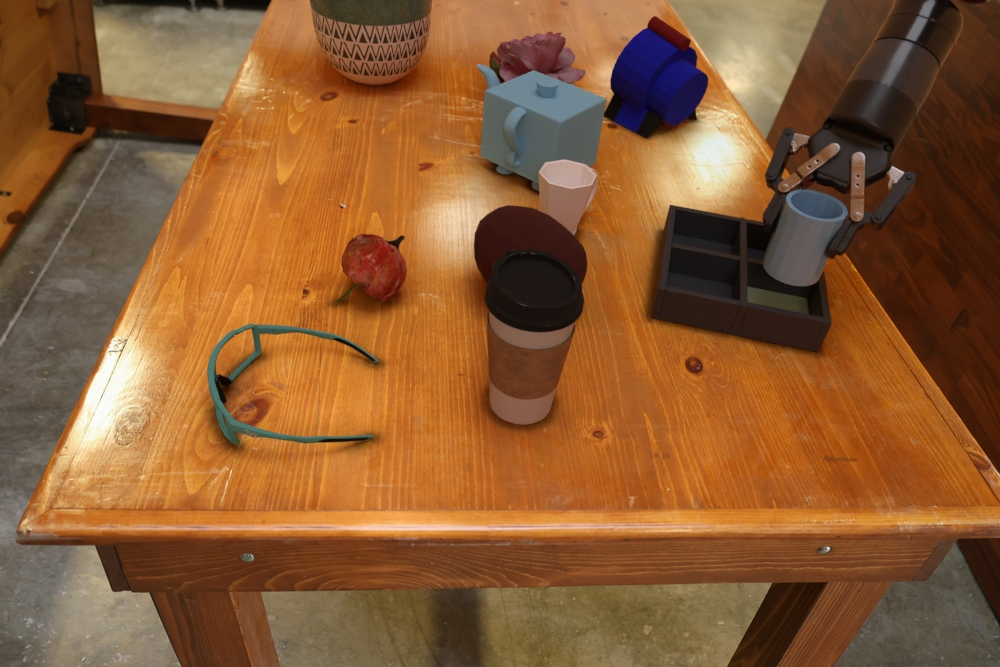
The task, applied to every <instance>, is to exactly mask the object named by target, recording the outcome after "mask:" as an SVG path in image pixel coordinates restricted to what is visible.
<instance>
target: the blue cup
mask: <svg viewBox="0 0 1000 667" xmlns="http://www.w3.org/2000/svg"><path fill="white" fill-rule="evenodd" d="M848 215H849V213H848V207H847V205H845V203H844V202H842V201H841V200H840V199H838V198H837V197H835V196H833V195H831V194H829V193H826V192H823V191H820V190H815V189H809V188H807V189H799V190H795V191H792V192H790V193H789V194H788V195H787V196H786V198H785V201H784V203H783V206H782V209H781V212H780V214H779V217H778V220H777V223H776V225H775V228H774V231H773V233H772V236H771V239H770V242H769V244H768V247H767V250H766V252H765V255H764V259H763V267H764V269H765V271H766V272H767V273H768V274H769V275H770V276H772V277H773V278H775V279H776V280H778V281H780V282H783V283H786V284H789V285H793V286H810V285H813V284H815V283H816V282H817V281H818V280H819V278H820V276H821V274H822V273H823V270H824V271H825V268H826V266H827V263H828V261H829V259H830V258H828V257H826V252H827V250H828V248H829V246H830V244H831V243H832V241H833V239H834V237H835V236H836V234H837V232H838V230H839V229H840V227H841V226H842V224H843V222H844V220H845V219H846V220H847V217H848Z"/></svg>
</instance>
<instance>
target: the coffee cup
mask: <svg viewBox="0 0 1000 667" xmlns="http://www.w3.org/2000/svg"><path fill="white" fill-rule="evenodd" d="M584 297H585V296H584V293H583V283H581V279H580V277H579V275H578V274H577V273H576V271H575V270H574V269H573V268H572V267H571V266H570V265H569V264H567V263H566V262H564V261H563V260H562V259H560V258H558V257H556V256H554V255H552V254H550V253H548V252H544V251H541V250H535V249H520V250H513V251H508V252H506V253H504V254H503V255H502V256H500V257H499V258H498V259H497V260H496V262H495V263H494V265H493V267H492V271H491V275H490V279H489V281H488V282H487V283H486V286H485V292H484V303H485V306H486V308H487V310H488V311H487V314H486V334H487V362H488V363H487V364H488V365H487V366H488V381H489V382H488V386H489V387H488V388H489V389H488V391H489V392H488V399H489V400H488V401H489V405H490V409H491V410H492V412H493V413H494V414H495V415H496V416H497V417H498V418H500V419H501V420H502V421H505V422H507V423H510V424H513V425H514V424H515V425H519V426H520V425H522V426H524V425H532V424H536V423H538V422H541V421H542V420H544V419H545V418H546V417H547V416H548V414H549V413H550V411H551V409H552V405H553V401H554V398H555V395H556V392H557V387H558V385H559V382H560V379H561V376H562V372H563V369H564V366H565V363H566V360H567V356H568V353H569V350H570V348H571V344H572V340H573V338H574V335H575V331H576V322H577V321H578V320H579V318H580V317H581V315H582V313H583V311H584V310H583V309H584V304H585V298H584Z"/></svg>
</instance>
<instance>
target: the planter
mask: <svg viewBox="0 0 1000 667" xmlns="http://www.w3.org/2000/svg"><path fill="white" fill-rule="evenodd" d="M309 5H310V12H311V18H312V24H313V25H312V26H313V30H314V34H315V37H316V40H317V43H318V45H319V48H320V50H321V52H322V55H323V57H324V58H325V59H326V60H327V61H328V63H329V65H330V66H331V67H333V69H335V71H337V72H338V73H340V74H341V75H342V76H344V77H345V78H346V79H349V80H350V81H353V82H355V83H358V84H362V85H368V86H382V85H388V84H392V83H395V82H398V81H399V80H401V79H403V78H404V77H406V76H407V75H408V74H409V73H411V72H412V71H413V69H415V68H416V66H417V65H418V64H419V63H420V61H421V59H422V57H423V56H424V53H425V51H426V47H427V45H428V40H429V36H430V32H431V23H432V22H431V21H432V11H433V9H432V8H433V0H309Z"/></svg>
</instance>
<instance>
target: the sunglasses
mask: <svg viewBox="0 0 1000 667" xmlns="http://www.w3.org/2000/svg"><path fill="white" fill-rule="evenodd" d="M248 330H251V333H252V338H253V347H254V351H253V352H252V353H251V354H250V355H249V356H248V357H247V358H246V359H245V360H243V362H241V364H239V365H238V366H237V367H236V369H234V371H232V372H231V373H230V375H229V376H228V377H227V376H225V375H223V374H219V373H218V374H217V360H218V356H219V354H220V352H221V350H222V349H223V348H224V346H225V345H226V344H227V343H228V342H229V341H230V340H232V339H233V338H234V337H236V336H237V335H238V336H239V335H240V334H241V333H243V332H246V331H248ZM285 334H304V335H308V336H313V337H317V338H319V339H323V340H331V341H335V342H337V343H339V344H342V345H345V346H348V347H349V348H351V349H352V350H354V351H356V352H358V353H359V354H361V355H363V356H364V357H365V358H367V359H368V360H369V361H371V362H372V363H374V364H377V363H379V362H380V360H379V359H378V358H376V357H375V356H374V355H373V354H371V353H370V352H368V351H367V350H365V348H363V347H362V346H360V345H359V344H357V343H354V342H353V341H351V340H349V339H347V338H346V337H343V336H340V335H338V334H336V333H333V332H332V333H330V332H326V331H323V330H322V331H321V330H316V329H311V328H304V327H299V326H292V325H280V324H279V325H278V324H255V323H247V324H246V325H243V326H241V327H239V328H236V329H232V330H231V331H229V332H228V333H226V334H225V335H224V336H223V337H222V338H221V339H220V340H219V341H218V342H217V344H215V346H214V347H213V349H212V351H211V353H210V356H209V359H208V362H207V372H206V373H207V374H206V376H207V383H208V390H209V393H210V397H211V400H212V403H213V406H214V408H215V413H216V419H217V423H218V426H219V428H220V430H221V431H222V433H223V435H224V437H225V438H226V440H228V441H229V442H230V443H231V444H232V445H239V444H240V441H239V438H238V433H240V434H243V435H246V436H249V437H251V438H260V439H261V438H264V439H274V440H280V441H286V442H295V443H300V444H324V443H325V444H326V443H350V442H364V441H369V440H371V439H372V438H374V436H375V435H374V434H359V435H335V436H334V435H312V436H311V435H310V436H300V435H293V434H292V435H291V434H285V433H280V432H275V431H270V430H267V429H264V428H263V429H262V428H259V427H257V426H255V425H252V424H251V425H250V424H249V423H246V422H243V421H239V420H237V419H235V418H234V417H233V415H232V414H231V412H229V410H228V409H227V408H226V407H225V404H226V403H227V397H226V393H225V392H224V389H223V388H222V387H229V386H230V385H231V384H232V382H233V381H234V380H235V379H236V378H237V376H239V374H241V372H243V370H244V369H245V368H246V367H247V366H248V365H250V364H251V363H252V362H253V361H254V360H255V359H256V358H258V357H259V356H260V355H261V354H262V344H261V335H275V336H277V335H285ZM224 419H225V420H224Z"/></svg>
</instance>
